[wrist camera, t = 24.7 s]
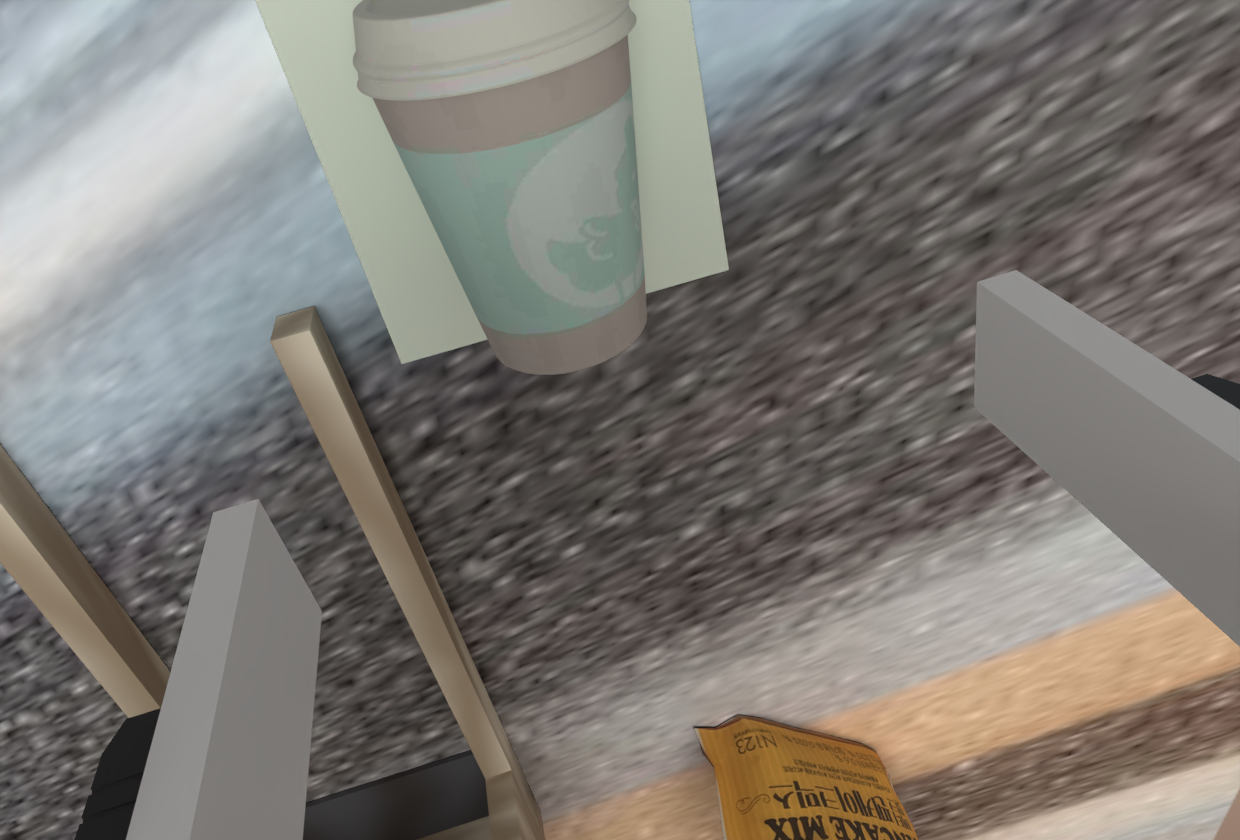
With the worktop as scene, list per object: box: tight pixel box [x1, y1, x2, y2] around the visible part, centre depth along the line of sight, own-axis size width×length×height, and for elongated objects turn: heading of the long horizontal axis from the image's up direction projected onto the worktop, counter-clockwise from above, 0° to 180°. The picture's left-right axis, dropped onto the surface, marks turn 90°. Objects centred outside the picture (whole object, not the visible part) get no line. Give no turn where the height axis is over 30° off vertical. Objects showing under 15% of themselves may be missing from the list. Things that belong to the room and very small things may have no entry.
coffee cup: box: [353, 0, 647, 375], centre depth 29 cm, size 8×8×12 cm
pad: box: [255, 0, 729, 364], centre depth 33 cm, size 14×14×1 cm
